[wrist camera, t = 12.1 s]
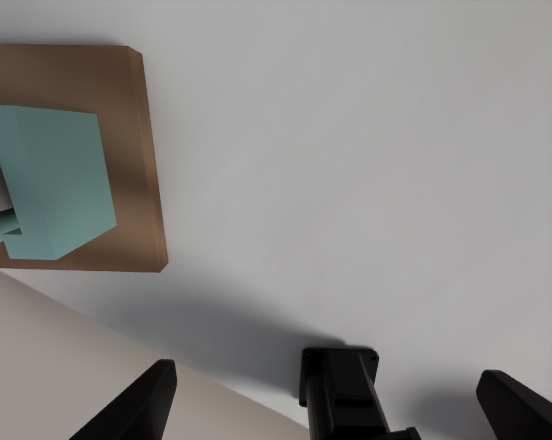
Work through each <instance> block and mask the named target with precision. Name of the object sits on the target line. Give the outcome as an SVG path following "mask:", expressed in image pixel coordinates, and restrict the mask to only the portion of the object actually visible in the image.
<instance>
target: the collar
mask: <svg viewBox="0 0 552 440" xmlns="http://www.w3.org/2000/svg"><path fill="white" fill-rule="evenodd" d="M0 165H1V169H2V172H3V175H4V178H5V181H6V185H7V188H8V191H9V194H10V197H11V201H12V204H13V207H14V208H10V209H7V210H3V211H0V242H2V241H4V243H5V246H6V249H7V252H8V255H9V258H10V259H38V260H57V259H59V258H60V257H62V256H64V255H66V254H68V253H69V252H71V251H73V250H75V249H76V248H78V247H80V246H82V245H83V244H85V243H87V242H89V241H91V240H92V239H94V238H96V237H98V236H99V235H101V234H103V233H105V232H106V231H108V230H110V229H112V228H113V227H115V226H117V223H116V218H115V212H114V207H113V202H112V196H111V191H110V185H109V180H108V175H107V169H106V164H105V158H104V153H103V147H102V142H101V137H100V131H99V126H98V120H97V115H96V114H92V113H82V112H72V111H62V110H52V109H42V108H33V107H23V106H12V105H0Z"/></svg>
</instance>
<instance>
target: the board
mask: <svg viewBox="0 0 552 440" xmlns="http://www.w3.org/2000/svg"><path fill="white" fill-rule="evenodd" d="M0 105H12V106H23V107H33V108H42V109H52V110H62V111H72V112H82V113H92V114H96V115H97V120H98V126H99V131H100V137H101V142H102V147H103V153H104V158H105V164H106V169H107V175H108V180H109V185H110V191H111V196H112V202H113V207H114V212H115V218H116V223H117V226H115V227H113V228H112V229H110V230H108V231H106V232H105V233H103V234H101V235H99V236H98V237H96V238H94V239H92V240H91V241H89V242H87V243H85V244H83V245H82V246H80V247H78V248H76V249H75V250H73V251H71V252H69V253H68V254H66V255H64V256H62V257H60V258H59V259H57V260H38V259H10V258H9V255H8V252H7V249H6V246H5V243H4V241H2V242H0V268H13V269H49V270H85V271H120V272H156V273H160V272H161V270H162V269H163V268H164V267H165V266H166V265H167V264H168V257H167V249H166V241H165V233H164V225H163V217H162V209H161V201H160V193H159V185H158V178H157V170H156V162H155V154H154V146H153V138H152V130H151V122H150V114H149V106H148V98H147V90H146V82H145V75H144V67H143V59H142V54H141V53H139V52H137V51H135V50H134V49H132V48H130V47H128V46H84V45H29V44H0ZM10 208H14V207H13V204H12V201H11V197H10V194H9V191H8V188H7V185H6V181H5V178H4V175H3V172H2V169H1V165H0V211H3V210H7V209H10Z"/></svg>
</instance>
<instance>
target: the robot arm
mask: <svg viewBox="0 0 552 440" xmlns="http://www.w3.org/2000/svg"><path fill="white" fill-rule="evenodd" d="M307 354H310V355H307ZM372 356H373V357H372ZM378 362H379V356H378V354H377V352H376V351H374V350H349V349H317V348H306V349H304V350H303V351H302V358H301V373H300V388H299V405H300V406H302V407H307V408H308V419H309V429H310V439H311V440H421V438H420V436H419V434H418V432H417V430H416V429H415V427H409V428H406V430H401V431H395V432H390V429H389V427H388V424H387V421H386V418H385V416H384V413H383V410H382V408H381V405H380V402H379V399H378V397H377V394H376V391H375V388H374V383H375V378H376V372H377V367H378ZM176 387H177V376H176V369H175V362H174V360H172V359H160V360H158V361H157V362H156V363H154V364H153V365H152V366H151V367H150V368H149V369H148V370H146V371H145V372H144V373H143V374H142V375H141V376H140V377H139V378H137V379H136V380H135V381H134V382H133V383H132V384H131V385H130V386H129V387H127V388H126V389H125V390H124V391H123V392H122V393H121V394H119V395H118V396H117V397H116V398H115V399H114V400H113V401H111V402H110V403H109V404H108V405H107V406H106V407H105V408H104V409H103V410H101V411H100V412H99V413H98V414H97V415H96V416H95V417H94V418H92V419H91V420H90V421H89V422H88V423H87V424H86V425H84V426H83V427H82V428H81V429H80V430H79V431H78V432H77V433H75V435H73V436H72V437H71V438H70V439H69V440H161V439H162V436H163V432H164V429H165V425H166V422H167V419H168V415H169V411H170V408H171V405H172V401H173V398H174V394H175V391H176ZM476 395H477V399H478V401H479V403H480V405H481V407H482V409H483V411H484V413H485V415H486V417H487V419H488V421H489V423H490V425H491V427H492V429H493V431H494V433H495V435H496V437H497V439H498V440H552V403H551V402H550V401H548V400H547V399H545V398H544V397H542V396H540V395H539V394H537V393H536V392H534V391H533V390H531V389H529V388H528V387H526V386H525V385H523V384H522V383H520V382H518V381H517V380H515V379H514V378H512V377H511V376H509V375H507V374H506V373H504V372H503V371H500V370H484V371H483V372H482V375H481V377H480V380H479V383H478V386H477V388H476Z"/></svg>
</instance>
